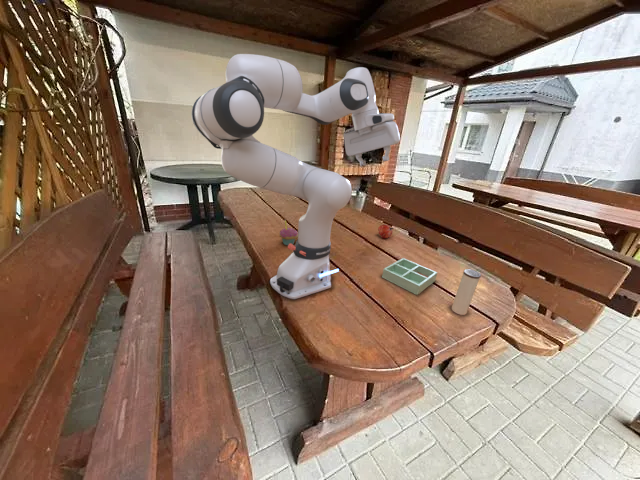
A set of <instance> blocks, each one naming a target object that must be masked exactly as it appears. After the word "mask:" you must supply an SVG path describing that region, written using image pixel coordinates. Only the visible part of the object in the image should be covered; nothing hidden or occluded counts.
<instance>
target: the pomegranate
mask: <svg viewBox="0 0 640 480" xmlns="http://www.w3.org/2000/svg"><path fill="white" fill-rule="evenodd" d="M393 230H394V227H391V226H390V225H388V224H385V223H383V224H381V225H379V226H378V227H377V231H378V234H376V236H380V237H381V239H388V238H390V237H391V236H392V235H393Z"/></svg>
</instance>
